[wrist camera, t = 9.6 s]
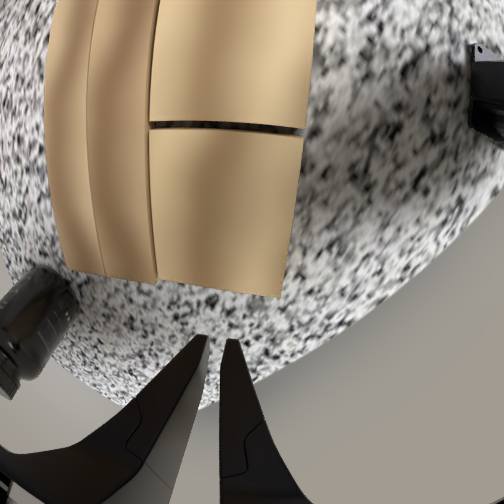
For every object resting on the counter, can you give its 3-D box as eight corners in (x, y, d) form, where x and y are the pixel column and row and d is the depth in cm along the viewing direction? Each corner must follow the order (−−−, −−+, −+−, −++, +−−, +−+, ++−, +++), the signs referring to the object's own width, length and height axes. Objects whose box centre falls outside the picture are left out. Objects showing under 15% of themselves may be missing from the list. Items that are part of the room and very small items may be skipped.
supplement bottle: (39, 305, 23) (-18, 382, 13) (26, 254, 20) (-51, 333, 9) (85, 327, 24) (31, 419, 13) (75, 275, 20) (-4, 376, 10)
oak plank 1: (315, -22, 9) (317, -33, 7) (303, 127, 13) (305, 129, 12) (175, -20, 9) (165, -28, 8) (161, 119, 14) (149, 121, 13)
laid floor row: (170, -24, 9) (162, -33, 8) (162, 272, 19) (155, 284, 18) (69, 5, 9) (56, 2, 8) (77, 259, 19) (67, 269, 18)
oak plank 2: (302, 136, 14) (304, 138, 12) (281, 284, 18) (280, 298, 17) (161, 127, 14) (149, 130, 13) (166, 267, 19) (158, 279, 18)
